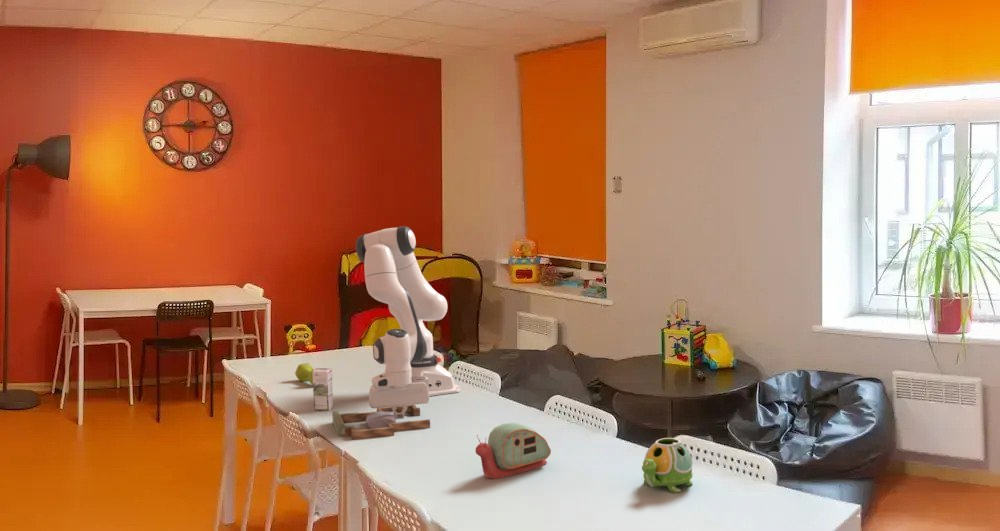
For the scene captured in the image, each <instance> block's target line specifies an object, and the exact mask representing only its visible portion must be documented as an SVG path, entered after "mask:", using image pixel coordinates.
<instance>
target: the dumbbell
mask: <svg viewBox="0 0 1000 531" xmlns="http://www.w3.org/2000/svg"><path fill="white" fill-rule="evenodd" d="M314 369H315V368H313V366H312V365H311V364H310V363H308V362H306V363H305V362H304V363H299V364H298V366H297V368H296V369H295V372H294V374H295V376H296V378H297V380H298V381H299V382H310V383H309V384H310V385H312V387H313V370H314Z"/></svg>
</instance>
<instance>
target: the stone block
mask: <svg viewBox="0 0 1000 531" xmlns="http://www.w3.org/2000/svg"><path fill="white" fill-rule="evenodd" d="M375 412H376V413H373V414H370V415H368V416H367V418H366V421H365V425H366V428H367V429H375V428H386V427H387V423H396V422H397V419H396V417H395V415H394V412H393V411H392V412H377V411H375Z"/></svg>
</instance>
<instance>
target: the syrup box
mask: <svg viewBox="0 0 1000 531" xmlns="http://www.w3.org/2000/svg"><path fill="white" fill-rule="evenodd" d="M313 369H314V370H313V386H312V395H313V397H312V398H313V410H314V411H330V410H331V409H332V408H333V407H334V399H333V397H334V395H333V369H332V368H331V367H316V368H313Z"/></svg>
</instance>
